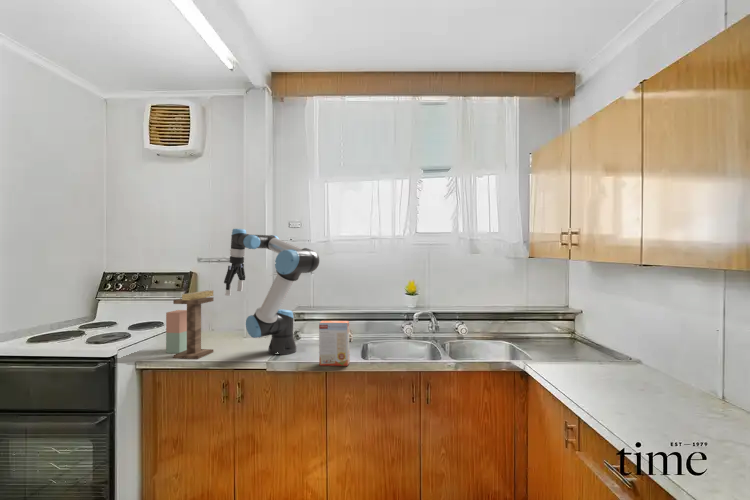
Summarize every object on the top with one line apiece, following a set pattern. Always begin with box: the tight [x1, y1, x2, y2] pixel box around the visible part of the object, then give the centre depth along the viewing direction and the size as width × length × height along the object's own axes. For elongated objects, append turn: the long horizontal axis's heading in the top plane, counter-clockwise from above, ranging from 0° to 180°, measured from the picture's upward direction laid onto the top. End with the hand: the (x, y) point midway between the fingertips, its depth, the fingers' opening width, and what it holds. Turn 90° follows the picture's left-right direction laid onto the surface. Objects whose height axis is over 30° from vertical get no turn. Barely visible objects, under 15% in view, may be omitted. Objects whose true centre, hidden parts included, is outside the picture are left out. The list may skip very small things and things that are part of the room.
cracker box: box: [318, 320, 351, 367], centre depth 191 cm, size 14×6×21 cm, turn 84°
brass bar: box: [181, 289, 214, 300], centre depth 213 cm, size 4×22×3 cm, turn 171°
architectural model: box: [349, 329, 354, 343], centre depth 240 cm, size 3×7×7 cm, turn 68°
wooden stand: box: [172, 296, 214, 360], centre depth 209 cm, size 14×14×30 cm
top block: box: [165, 309, 187, 334], centre depth 219 cm, size 8×10×11 cm
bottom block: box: [165, 331, 187, 354], centre depth 218 cm, size 8×10×11 cm
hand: (233, 293), depth 222 cm, fingers open, 13 cm apart
